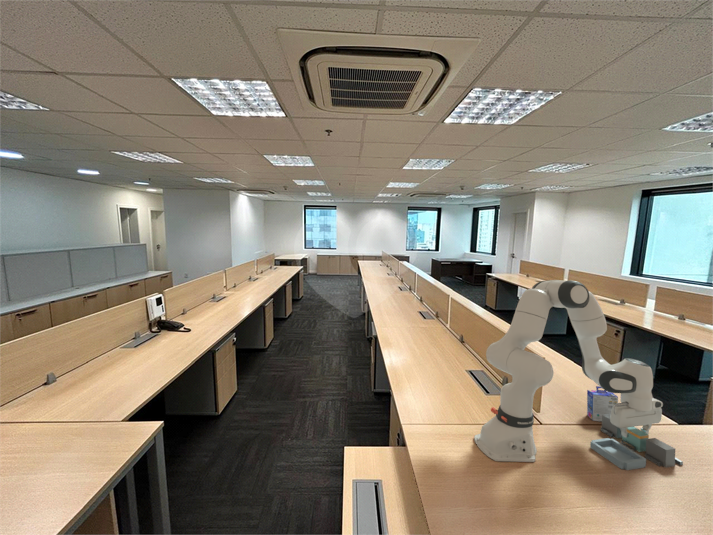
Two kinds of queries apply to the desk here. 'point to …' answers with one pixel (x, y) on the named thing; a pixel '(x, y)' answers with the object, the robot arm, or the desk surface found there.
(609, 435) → the clip rail
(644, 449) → the block
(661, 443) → the block
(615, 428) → the block
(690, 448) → the desk surface
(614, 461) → the tray
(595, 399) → the ink cartridge box
